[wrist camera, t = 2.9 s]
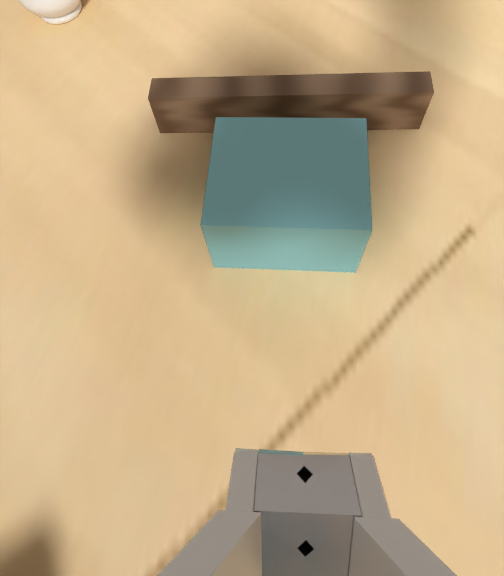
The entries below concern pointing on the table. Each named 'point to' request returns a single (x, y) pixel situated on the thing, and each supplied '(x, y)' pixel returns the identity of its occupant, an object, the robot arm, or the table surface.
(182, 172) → the table surface
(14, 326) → the table surface
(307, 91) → the walnut board
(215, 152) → the teal block
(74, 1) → the flower vase
